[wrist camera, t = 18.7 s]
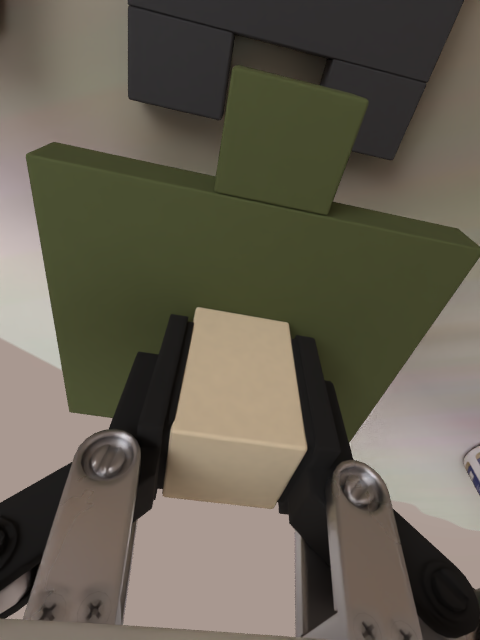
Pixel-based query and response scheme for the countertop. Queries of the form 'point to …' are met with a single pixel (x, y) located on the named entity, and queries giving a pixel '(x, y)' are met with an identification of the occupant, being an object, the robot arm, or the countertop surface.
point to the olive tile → (239, 282)
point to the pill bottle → (473, 466)
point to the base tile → (298, 34)
